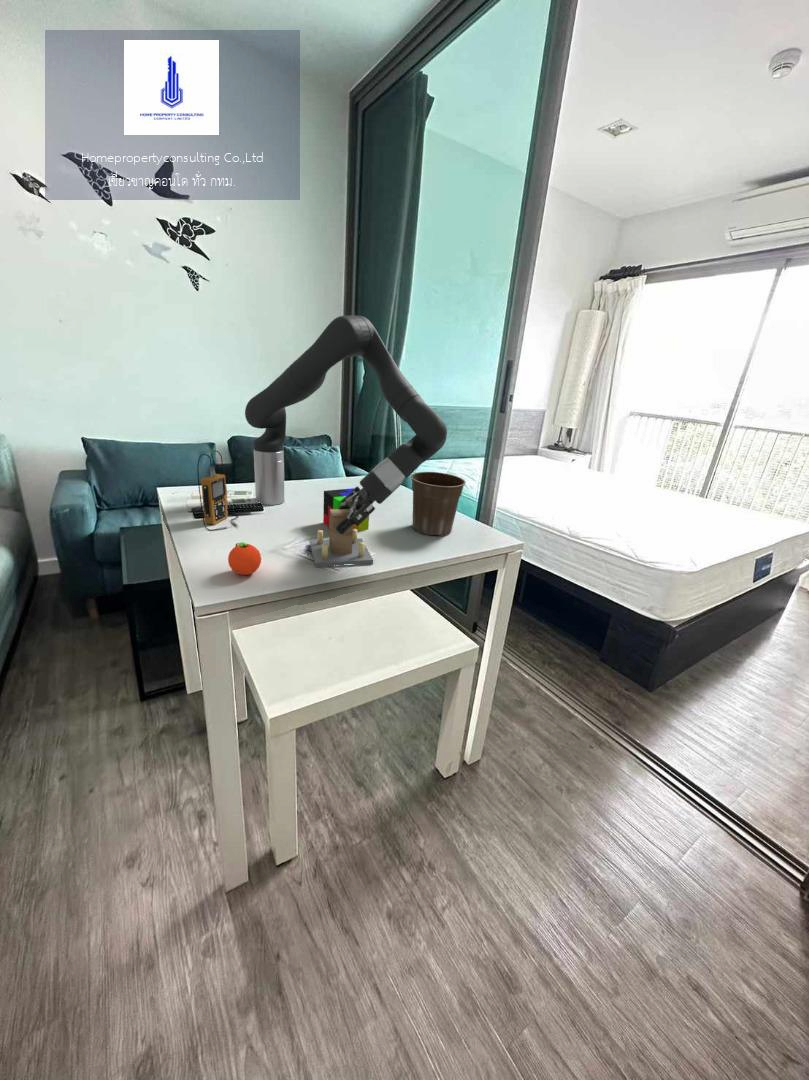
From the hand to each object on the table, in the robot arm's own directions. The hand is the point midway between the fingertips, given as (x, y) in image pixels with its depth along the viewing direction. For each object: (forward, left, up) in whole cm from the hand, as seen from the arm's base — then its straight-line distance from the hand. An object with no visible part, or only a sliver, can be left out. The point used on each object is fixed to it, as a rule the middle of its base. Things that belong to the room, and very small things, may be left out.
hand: (335, 525), depth 108 cm
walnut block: (0, +1, -7) cm, 7 cm away
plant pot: (-15, +32, -8) cm, 37 cm away
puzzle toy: (-20, +6, -8) cm, 23 cm away
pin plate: (0, +1, -8) cm, 8 cm away
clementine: (+8, -21, -8) cm, 24 cm away
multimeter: (-25, -27, -8) cm, 37 cm away
